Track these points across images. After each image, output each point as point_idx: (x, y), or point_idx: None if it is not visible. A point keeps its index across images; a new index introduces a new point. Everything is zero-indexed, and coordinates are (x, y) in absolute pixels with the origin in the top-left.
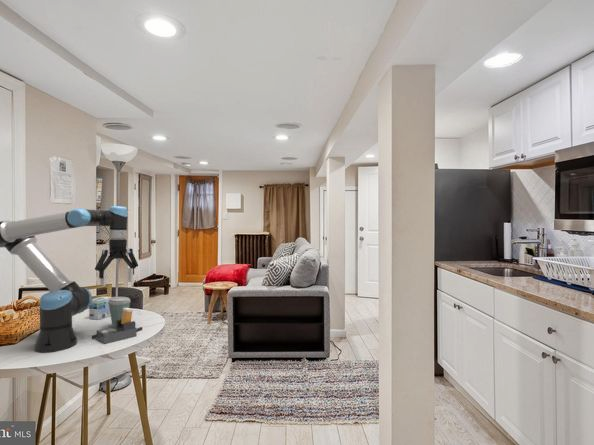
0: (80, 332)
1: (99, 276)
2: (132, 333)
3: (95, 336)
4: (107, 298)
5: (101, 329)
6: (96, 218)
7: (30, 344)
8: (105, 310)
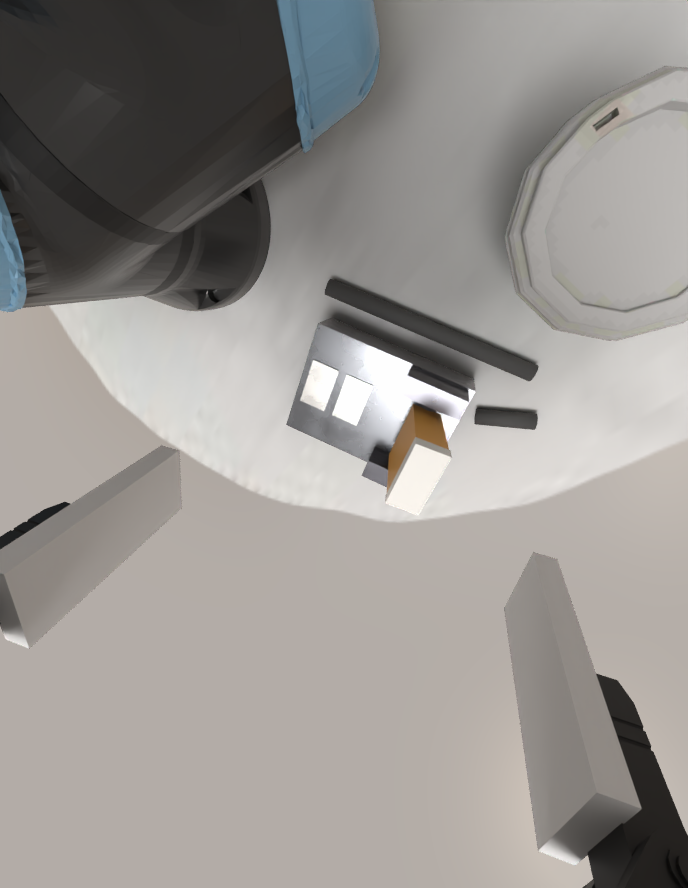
0: (389, 80)
1: (35, 524)
2: None
3: (337, 299)
4: None
5: (341, 333)
6: None
7: None
8: None
